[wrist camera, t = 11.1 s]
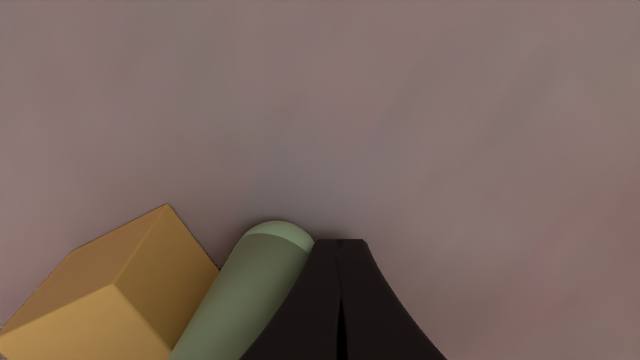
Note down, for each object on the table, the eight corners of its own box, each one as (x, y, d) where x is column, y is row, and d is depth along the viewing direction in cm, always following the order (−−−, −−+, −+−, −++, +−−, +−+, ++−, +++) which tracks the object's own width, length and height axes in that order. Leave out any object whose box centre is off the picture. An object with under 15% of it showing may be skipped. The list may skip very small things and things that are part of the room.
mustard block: (207, 403, 14) (175, 513, 11) (70, 251, 11) (-13, 342, 9) (296, 370, 13) (285, 479, 10) (168, 202, 11) (111, 284, 8)
